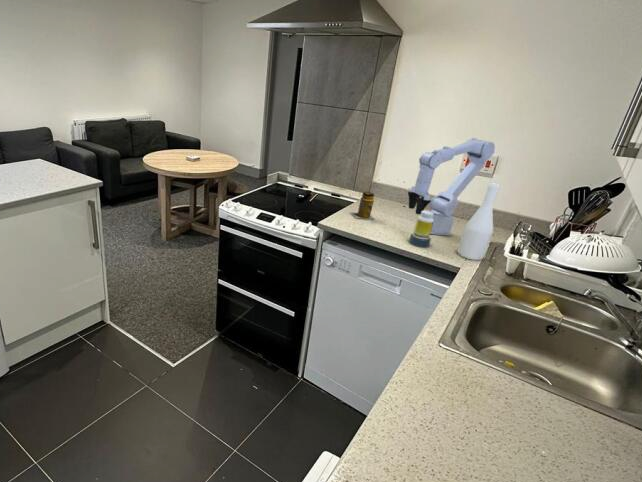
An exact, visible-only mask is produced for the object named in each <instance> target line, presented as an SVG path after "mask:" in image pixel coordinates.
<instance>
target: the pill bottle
mask: <svg viewBox="0 0 642 482" xmlns="http://www.w3.org/2000/svg"><path fill="white" fill-rule="evenodd" d="M433 215H434V213H433V212H431V211H429V210H423V211H421V214H420V215H418V216H417V218H416V222H415V225H414V229H413V233H412V234H413V236H414V237H416V238H418V239H428V238H430V235H431V234H430V232H431V229H432V225H433V222H434V220H433V218H432V217H433Z"/></svg>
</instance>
